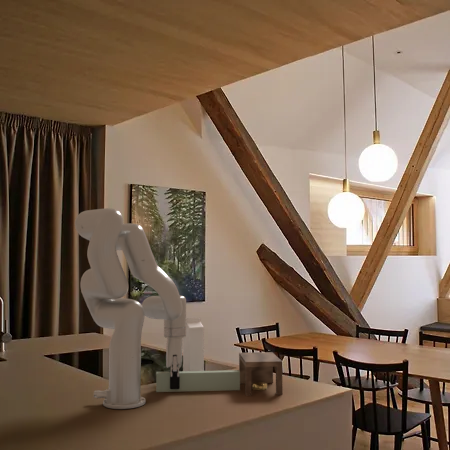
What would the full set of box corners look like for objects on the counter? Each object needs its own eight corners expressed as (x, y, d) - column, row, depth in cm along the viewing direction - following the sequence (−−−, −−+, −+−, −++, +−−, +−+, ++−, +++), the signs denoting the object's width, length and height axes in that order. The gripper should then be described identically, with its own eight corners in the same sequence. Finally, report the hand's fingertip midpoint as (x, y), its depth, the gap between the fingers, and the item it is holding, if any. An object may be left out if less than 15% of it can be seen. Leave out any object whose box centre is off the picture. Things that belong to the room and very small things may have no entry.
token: (253, 391, 177) (253, 385, 177) (251, 387, 182) (251, 382, 182) (268, 390, 177) (268, 385, 177) (265, 387, 182) (265, 382, 182)
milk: (182, 376, 199) (182, 317, 200) (197, 375, 202) (197, 316, 203) (189, 379, 193) (189, 319, 195) (204, 378, 196) (204, 318, 198)
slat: (156, 392, 175) (156, 373, 175) (156, 389, 178) (156, 371, 178) (239, 390, 178) (239, 371, 178) (238, 387, 181) (238, 370, 181)
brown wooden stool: (245, 395, 170) (245, 362, 171) (239, 382, 188) (239, 352, 189) (282, 394, 171) (282, 361, 172) (272, 382, 189) (272, 352, 190)
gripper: (164, 329, 186) (163, 382, 185) (163, 335, 170) (163, 394, 169) (185, 329, 187) (185, 382, 186) (186, 335, 171) (186, 393, 169)
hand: (174, 387), depth 177 cm, fingers closed on slat, 3 cm apart
